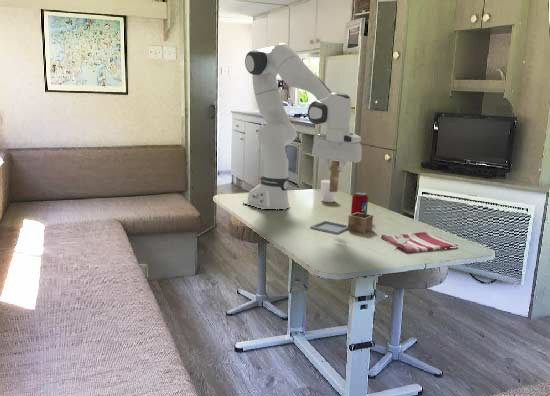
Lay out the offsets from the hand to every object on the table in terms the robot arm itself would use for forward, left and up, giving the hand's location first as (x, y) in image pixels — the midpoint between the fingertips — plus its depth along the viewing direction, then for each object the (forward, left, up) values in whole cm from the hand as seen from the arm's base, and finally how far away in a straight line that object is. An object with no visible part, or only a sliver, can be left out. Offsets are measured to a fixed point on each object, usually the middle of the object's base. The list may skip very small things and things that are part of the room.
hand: (334, 171), depth 198 cm
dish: (0, 0, -24) cm, 24 cm away
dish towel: (+34, +6, -24) cm, 42 cm away
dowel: (0, 0, -8) cm, 8 cm away
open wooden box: (+10, +6, -24) cm, 26 cm away
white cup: (-26, +46, -24) cm, 58 cm away
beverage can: (+2, +22, -24) cm, 33 cm away
